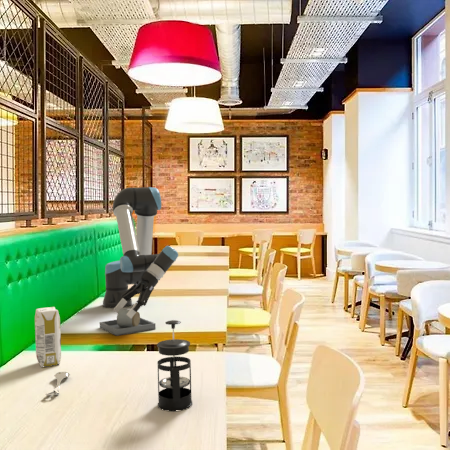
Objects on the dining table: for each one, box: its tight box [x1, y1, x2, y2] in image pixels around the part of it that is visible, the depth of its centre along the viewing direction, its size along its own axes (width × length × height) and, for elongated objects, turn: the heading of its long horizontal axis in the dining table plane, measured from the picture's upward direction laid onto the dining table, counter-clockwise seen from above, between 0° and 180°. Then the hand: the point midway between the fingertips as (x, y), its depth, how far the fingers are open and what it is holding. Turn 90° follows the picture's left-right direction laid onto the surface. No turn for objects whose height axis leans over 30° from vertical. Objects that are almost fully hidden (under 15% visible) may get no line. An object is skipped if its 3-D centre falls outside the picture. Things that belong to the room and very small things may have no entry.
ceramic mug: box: [116, 308, 141, 327], centre depth 239 cm, size 11×8×8 cm
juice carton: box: [34, 306, 62, 368], centre depth 188 cm, size 8×9×19 cm
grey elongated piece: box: [45, 371, 71, 396], centre depth 164 cm, size 20×4×5 cm
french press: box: [156, 319, 193, 412], centre depth 148 cm, size 12×9×23 cm
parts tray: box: [99, 317, 157, 337], centre depth 237 cm, size 18×18×2 cm
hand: (121, 314), depth 236 cm, fingers open, 13 cm apart
